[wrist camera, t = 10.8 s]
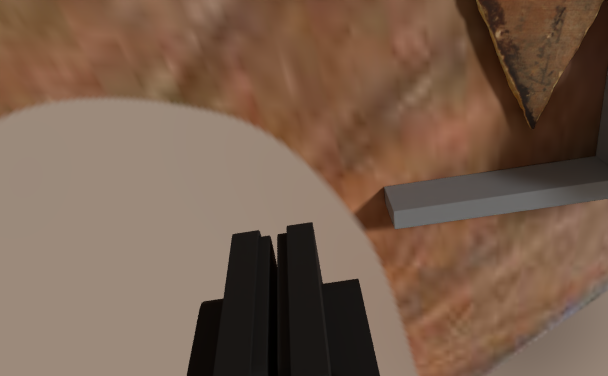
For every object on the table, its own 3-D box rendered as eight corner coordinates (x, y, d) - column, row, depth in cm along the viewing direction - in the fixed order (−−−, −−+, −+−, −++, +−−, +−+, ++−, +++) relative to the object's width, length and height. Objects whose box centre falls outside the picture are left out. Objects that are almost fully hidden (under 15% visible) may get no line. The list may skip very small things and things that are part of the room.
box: (358, -139, 24) (369, -146, 21) (668, -190, 23) (718, -203, 21) (385, 203, 32) (395, 229, 30) (612, 170, 32) (642, 193, 29)
